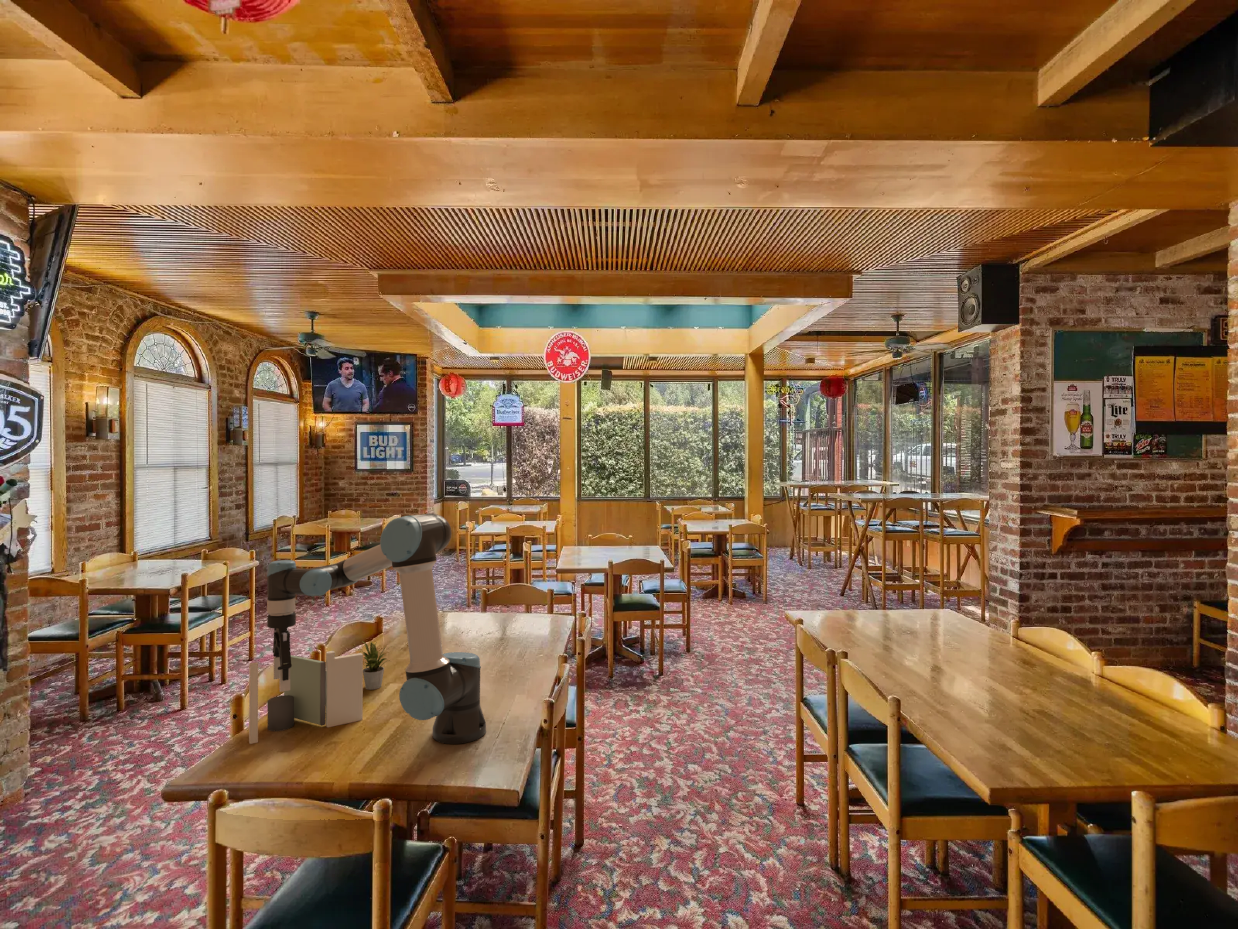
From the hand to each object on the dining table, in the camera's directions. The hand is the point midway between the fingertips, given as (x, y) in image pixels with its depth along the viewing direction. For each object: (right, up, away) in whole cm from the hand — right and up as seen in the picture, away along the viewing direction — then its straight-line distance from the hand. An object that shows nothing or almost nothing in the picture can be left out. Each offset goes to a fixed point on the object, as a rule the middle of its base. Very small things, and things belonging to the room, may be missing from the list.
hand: (281, 684), depth 190 cm
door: (+5, -12, +3) cm, 13 cm away
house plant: (+13, -13, +34) cm, 39 cm away
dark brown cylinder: (0, -13, 0) cm, 13 cm away
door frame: (+9, -13, -3) cm, 16 cm away
